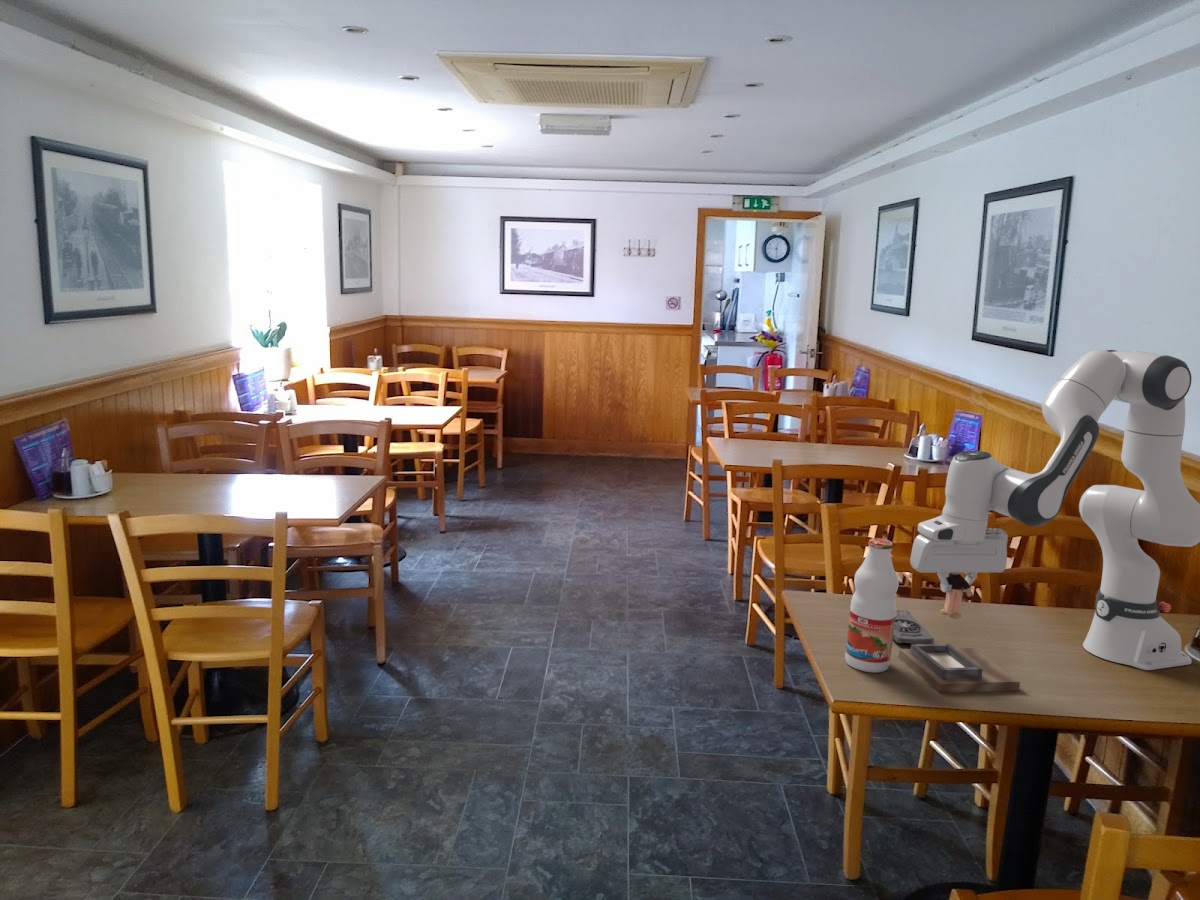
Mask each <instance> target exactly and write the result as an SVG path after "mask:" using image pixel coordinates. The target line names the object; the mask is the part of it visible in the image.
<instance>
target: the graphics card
mask: <svg viewBox="0 0 1200 900" xmlns="http://www.w3.org/2000/svg"><path fill="white" fill-rule="evenodd" d="M911 612H912V611H911V610H910V609H896V616H895V624H894V632H893V641H894V642H895V641H896V642H895V643H898V644H934V636H932V635H931V634H930V633H929V632H928V631H927V629H925V628H924V627H923V626H922V625H921V623H920V622H918V620H917V619H915V617H914V616H913V615H912V613H911ZM917 629H918V630H919V631H918V630H917Z"/></svg>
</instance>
